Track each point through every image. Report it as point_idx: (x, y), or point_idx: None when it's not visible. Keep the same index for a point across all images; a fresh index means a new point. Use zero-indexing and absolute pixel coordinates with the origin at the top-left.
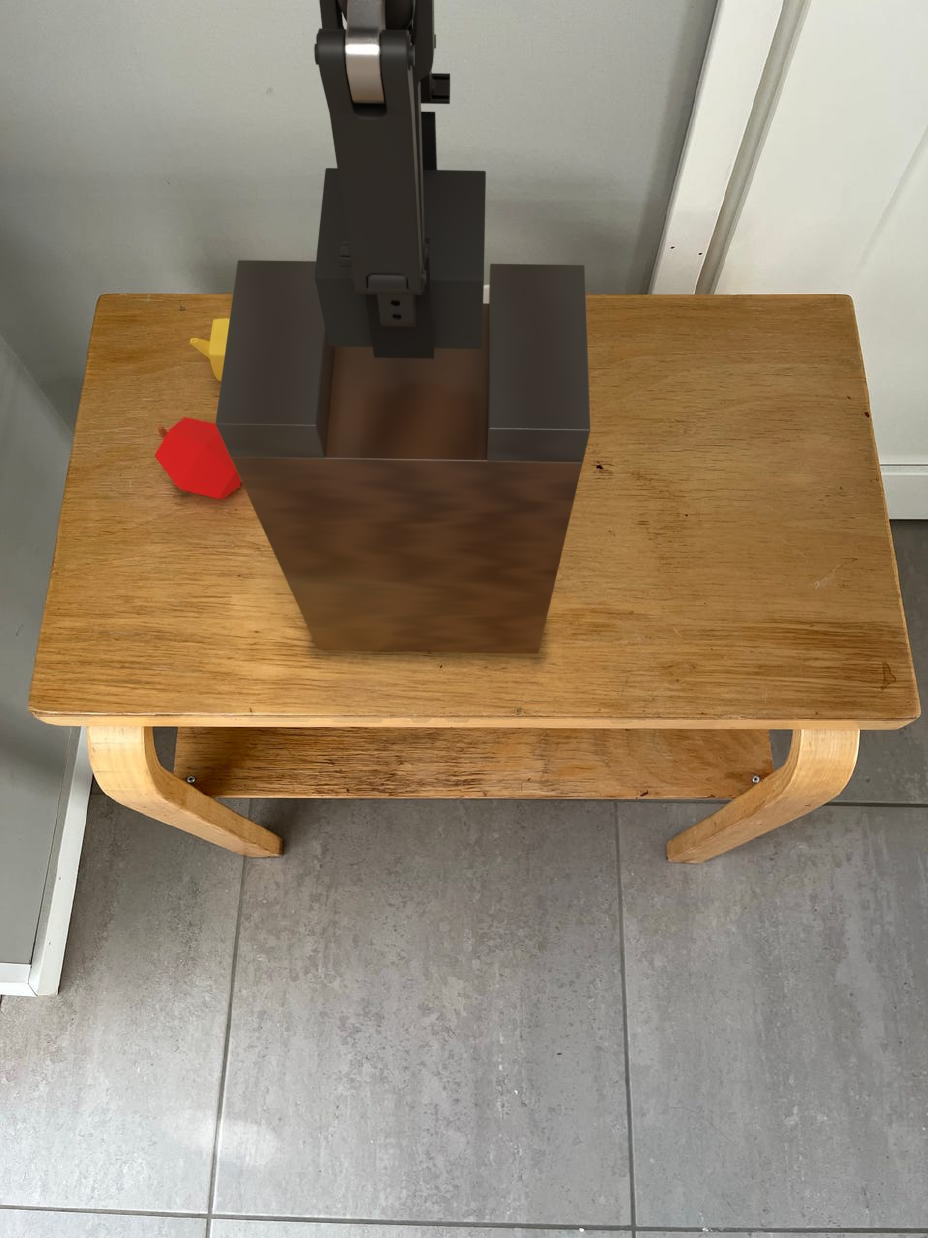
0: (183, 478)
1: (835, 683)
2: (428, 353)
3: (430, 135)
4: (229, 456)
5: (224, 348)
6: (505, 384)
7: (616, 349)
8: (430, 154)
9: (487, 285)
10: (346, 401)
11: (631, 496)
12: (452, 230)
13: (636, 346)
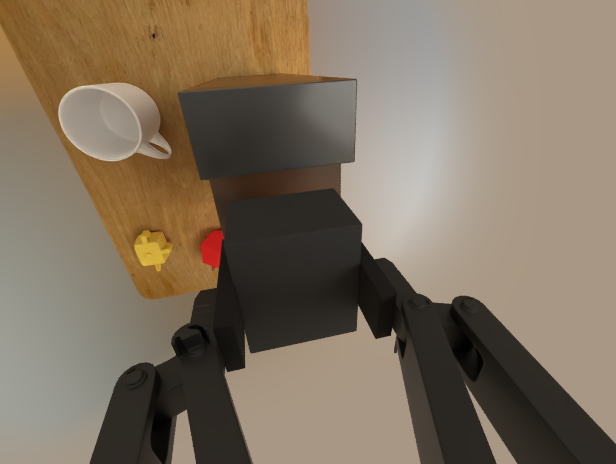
0: None
1: None
2: None
3: (234, 317)
4: (216, 240)
5: (158, 257)
6: (318, 154)
7: (44, 21)
8: (234, 301)
9: (66, 135)
10: None
11: (169, 10)
12: (307, 258)
13: (32, 2)
